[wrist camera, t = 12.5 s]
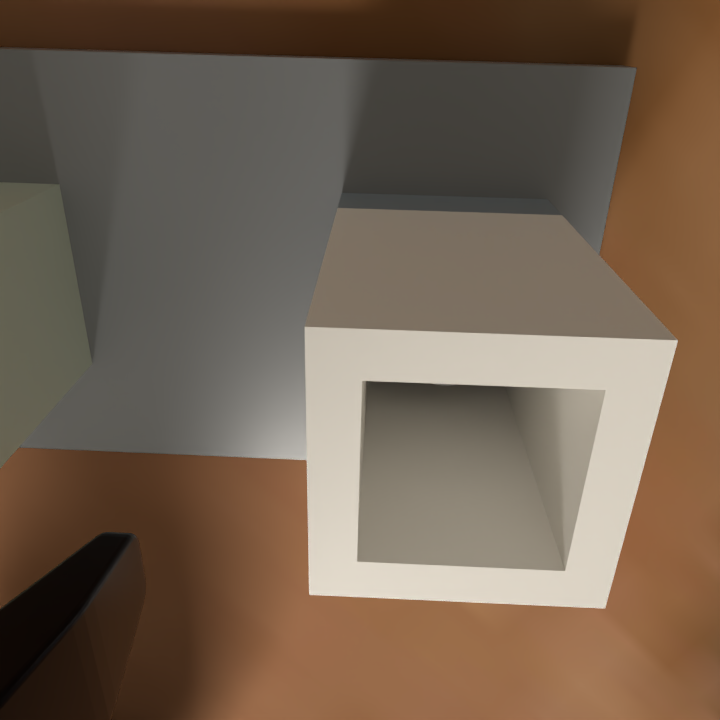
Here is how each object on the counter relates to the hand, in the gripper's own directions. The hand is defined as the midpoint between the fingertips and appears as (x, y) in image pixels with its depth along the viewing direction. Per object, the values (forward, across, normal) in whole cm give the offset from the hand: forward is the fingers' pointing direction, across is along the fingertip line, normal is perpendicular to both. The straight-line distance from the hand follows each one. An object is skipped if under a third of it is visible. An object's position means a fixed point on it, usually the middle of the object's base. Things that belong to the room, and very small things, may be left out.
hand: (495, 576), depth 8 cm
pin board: (+11, +6, 0) cm, 13 cm away
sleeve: (+10, 0, 0) cm, 10 cm away
